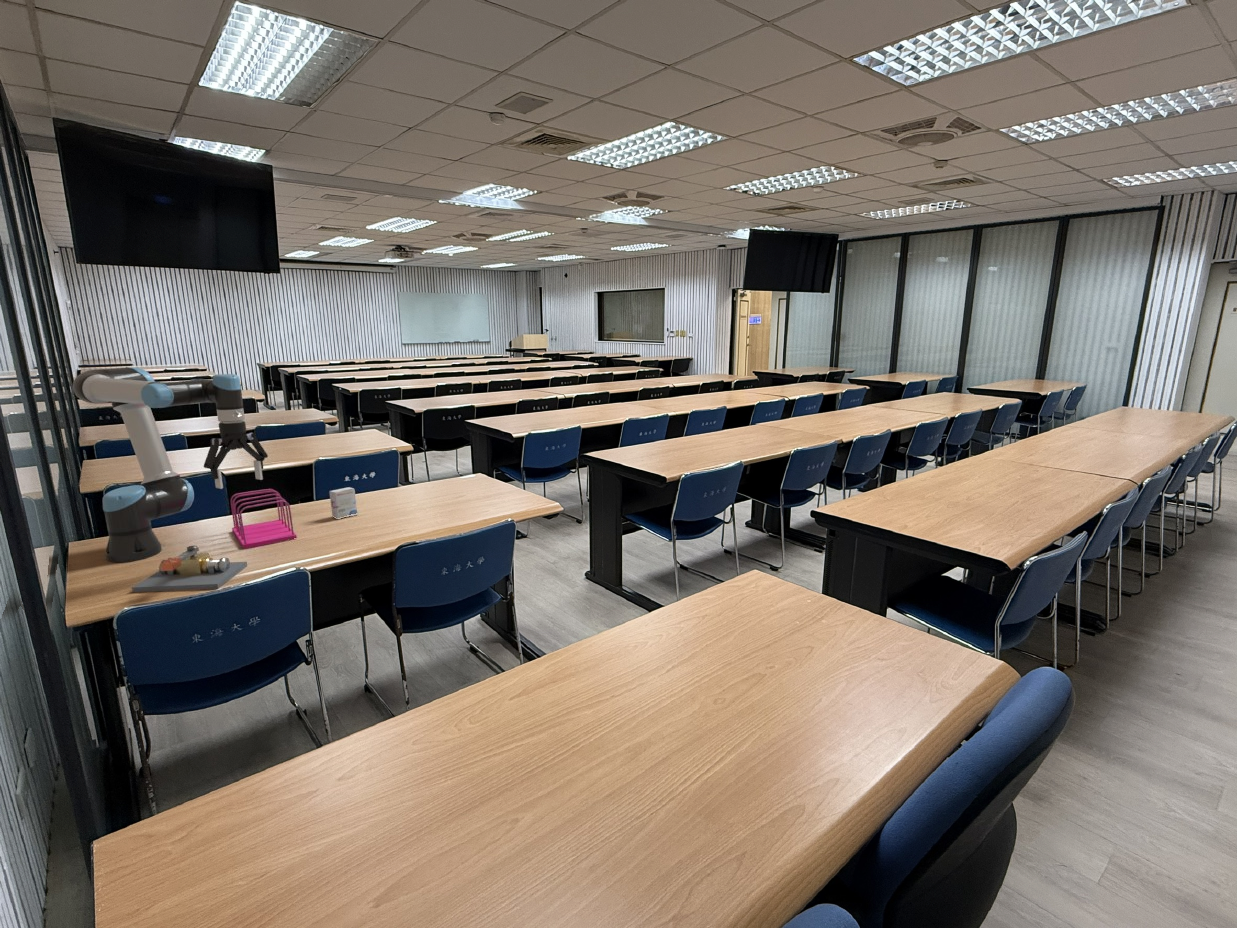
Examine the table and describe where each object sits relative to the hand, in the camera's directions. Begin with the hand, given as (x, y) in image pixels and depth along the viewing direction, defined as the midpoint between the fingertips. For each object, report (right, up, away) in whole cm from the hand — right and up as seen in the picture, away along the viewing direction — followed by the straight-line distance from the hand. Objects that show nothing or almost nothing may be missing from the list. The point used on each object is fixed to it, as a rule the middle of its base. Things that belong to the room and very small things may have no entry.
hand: (240, 483), depth 204 cm
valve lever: (-5, -24, -20) cm, 31 cm away
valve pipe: (-6, -29, -13) cm, 32 cm away
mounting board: (-6, -29, -15) cm, 33 cm away
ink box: (+14, -16, +48) cm, 52 cm away
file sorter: (-7, -21, +25) cm, 33 cm away
